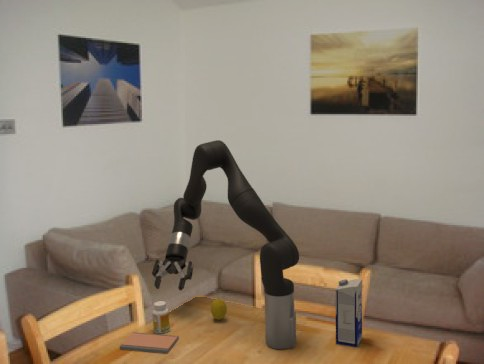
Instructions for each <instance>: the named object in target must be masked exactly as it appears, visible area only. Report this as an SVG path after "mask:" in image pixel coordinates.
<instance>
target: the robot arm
mask: <svg viewBox="0 0 484 364" xmlns="http://www.w3.org/2000/svg"><path fill="white" fill-rule="evenodd" d="M218 168H220V169H222V171H223V173H224V175H225V176H226V178H227V200H228V204H229V205H230V207H231V208H232V211H234V213H235V214H236V216H237V217H238V219H240V221H242V222H243V223H244V224H245V225H247V226H249V227H251V228H252V229H254V230H256V231H257V232H258V233H260V234H261V235H263V237H264V238H265V239H266V241H268V242H267V243H265V244H264V245H262V246H261V247H260V248H261V249H260V253H259V266H260V267H259V268H260V277H261V282H262V285H263V289H264V291H263V292H264V293H263V294H264V319H265V320H264V322H265V323H264V324H265V325H264V326H265V327H264V329H265V344H266V346H268V347H269V348H270V349H275V350H287V349H294V348H295V344H296V341H297V314H296V311H295V284H294V282H293V281H292V280H291V279H289V278H286V277H284V271H285V270H287V269H290V268H292V267H294V266H296V265H298V264H299V261H300V252H299V249H298V247H297V246H296V244H295V242H294V241H293V239H292V238H291V237H290V236H289V235H288V234H287V232H286V231H285V230H284V229H283V228H282V226H281V225H280V224H279V223H278V222H277V221H276V219H275V218H274V216H273V215H272V214H271V212H270V211H269V209H267V206H266V205H265V204H264V202H263V201H262V199H261V198H260V196H259V195H258V193H257V191H255V189H254V188H253V187H252V185H251V184H250V182H249V180H248V179H247V178H246V176H245V175H244V173H243V172H242V170H241V168H240V166H239V165H238V163H237V161H236V159H235V157H234V155H233V154H232V152H231V151H230V148H229V147H228V146H227V144H226V142H224V141H223V140H218V139H217V140H212V141H209V142H203V143H201V144H199V145H197V146H195V149H194V152H193V155H192V161H191V166H190V173H189V174H190V175H189V179H188V183H187V185H186V188H185V190H184V192H183V197H178V198H177V199H176V200H175V202H174V204H173V217H174V219H173V227H172V231H171V236H170V237H169V239H168V245H167V249H166V253H165V257H164V260H162V261H161V260H159V259H156V260H155V262H154V264H153V269H152V271H151V275H152V276H153V278H154V279H155V280H154V285H153V286H154V287H155V289H156V290H160V286H161V283H162V279H163V277H165V276H166V275H168V274H169V275H171V274H172V275H180V279H179V283H178V286H177V287H178V288H177V289H178V290H179V291H183V290H184V288H185V284H186V281H188V280H192V278H193V271H194V263H193V262H192V261H191V260H190V261H188V262H187V258H188V253H189V249H190V245H191V235H192V232H193V224H192V222H190V221H189V220H192V221H195V220H198V219H199V218H200V216H201V213H202V200H203V198H204V196H205V195H206V191H207V181H206V179H205V177H204V176H205V173H206V172H208V171H211V170H215V169H218ZM185 268H186V269H187V270H186V274H185V273H184V271H183V270H184V269H185Z"/></svg>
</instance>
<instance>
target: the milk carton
mask: <svg viewBox="0 0 484 364" xmlns="http://www.w3.org/2000/svg"><path fill="white" fill-rule="evenodd" d="M334 295H335V296H334V297H335V345H339V346H340V345H341V346H346V347H353V348H358V347H359V345H360V343H361V341H362V339H363V278H358V279H356V278H354V279H349V280H348V279H342V280H339V281H338V286H337V287H335V294H334Z"/></svg>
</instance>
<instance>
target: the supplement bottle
mask: <svg viewBox="0 0 484 364" xmlns="http://www.w3.org/2000/svg"><path fill="white" fill-rule="evenodd" d="M153 307H154V309H153V310H152V312H151V313H152V327H153V332H154V334H160V335H162V334H166V333H168V332H169V331H170V328H171V327H170V316H169V315H170V314H169V313H170V312H169V309H168V307H167V302H166V301H164V300H160V301H156V302H154V303H153Z"/></svg>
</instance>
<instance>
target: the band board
mask: <svg viewBox="0 0 484 364" xmlns="http://www.w3.org/2000/svg"><path fill="white" fill-rule="evenodd" d="M179 337H180V336H179V335H170V334H158V333H145V332H132V333H130V334H129V336H127V337H126V338H125V340H123V342H122V343H121V344H120V345H119V350H123V351H134V352H145V353H146V352H147V353H158V354H168V353H169V352H170V351H171V349H173V347H174V346H175V345H176V343H177V342H178V341H179Z"/></svg>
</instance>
